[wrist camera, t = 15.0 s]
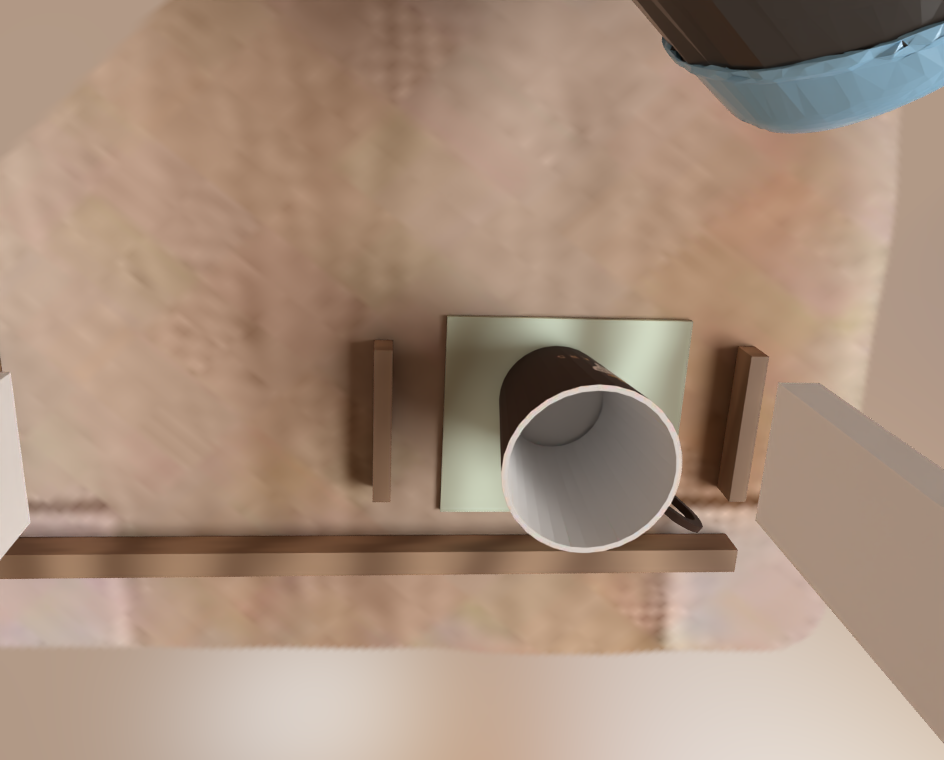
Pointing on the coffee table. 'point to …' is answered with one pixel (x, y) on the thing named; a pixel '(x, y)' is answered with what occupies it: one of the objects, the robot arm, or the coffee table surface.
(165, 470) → the coffee table surface
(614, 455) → the coffee mug
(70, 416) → the coffee table surface
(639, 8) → the robot arm
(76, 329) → the coffee table surface
